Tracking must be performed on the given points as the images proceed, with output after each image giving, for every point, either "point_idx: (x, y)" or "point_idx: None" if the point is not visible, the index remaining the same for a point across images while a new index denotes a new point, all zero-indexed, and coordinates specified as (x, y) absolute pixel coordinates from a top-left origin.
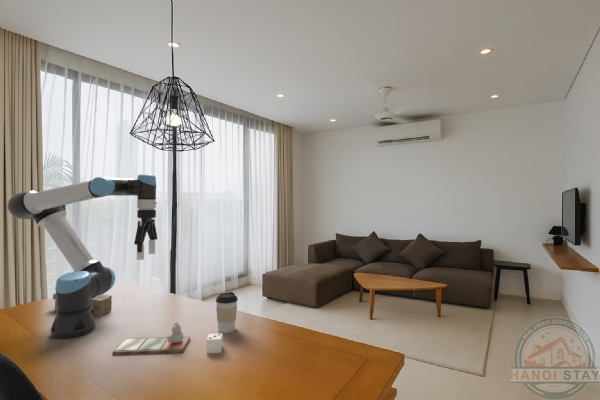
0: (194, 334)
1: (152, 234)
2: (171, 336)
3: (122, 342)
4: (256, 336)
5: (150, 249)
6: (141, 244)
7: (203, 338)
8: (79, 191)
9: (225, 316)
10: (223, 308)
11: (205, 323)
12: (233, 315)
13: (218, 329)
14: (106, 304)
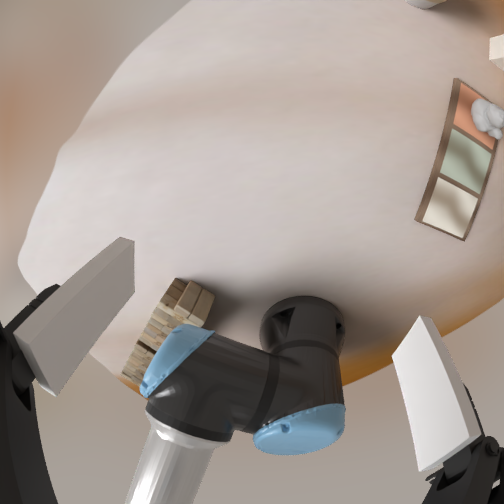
0: (431, 61)
1: (19, 457)
2: (501, 131)
3: (434, 227)
4: None
5: (110, 304)
6: (483, 442)
7: (455, 51)
8: None
9: None
10: None
11: (364, 17)
12: None
13: (422, 7)
14: (192, 300)
